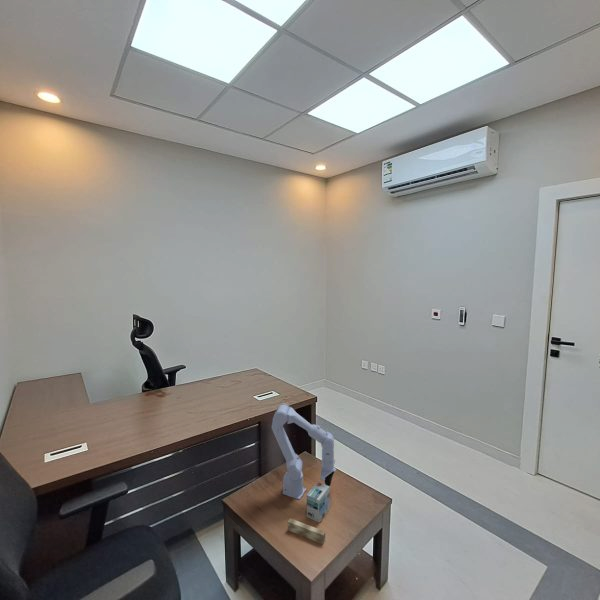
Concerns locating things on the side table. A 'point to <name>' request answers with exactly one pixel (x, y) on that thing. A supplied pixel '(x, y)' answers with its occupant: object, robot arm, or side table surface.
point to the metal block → (306, 531)
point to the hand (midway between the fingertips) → (328, 485)
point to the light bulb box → (318, 502)
